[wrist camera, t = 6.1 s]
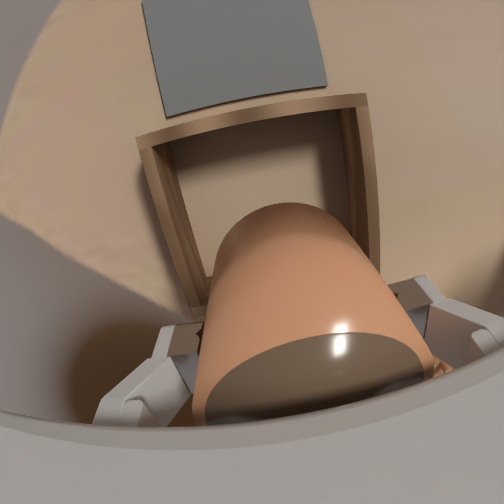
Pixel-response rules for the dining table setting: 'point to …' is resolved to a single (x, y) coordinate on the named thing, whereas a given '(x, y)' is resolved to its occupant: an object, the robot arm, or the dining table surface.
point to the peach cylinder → (299, 322)
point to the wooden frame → (156, 143)
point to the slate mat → (231, 50)
